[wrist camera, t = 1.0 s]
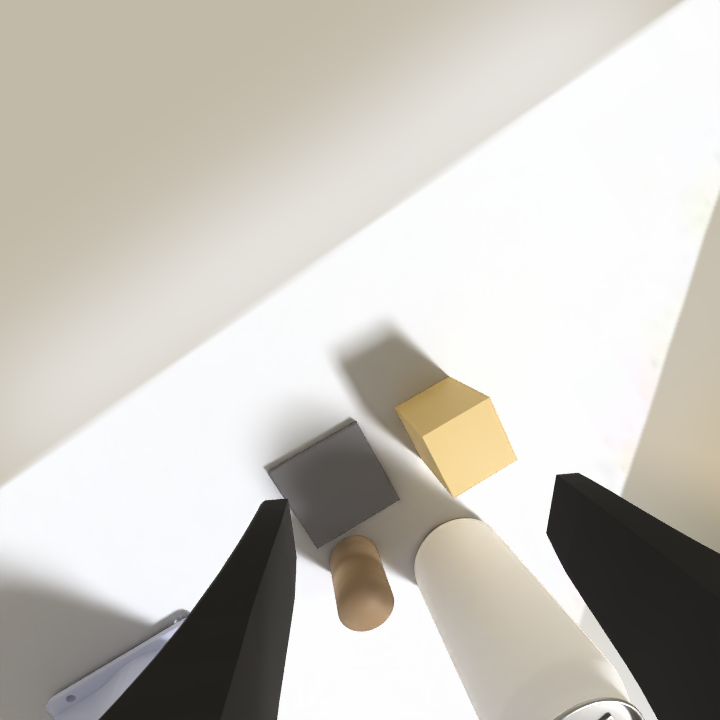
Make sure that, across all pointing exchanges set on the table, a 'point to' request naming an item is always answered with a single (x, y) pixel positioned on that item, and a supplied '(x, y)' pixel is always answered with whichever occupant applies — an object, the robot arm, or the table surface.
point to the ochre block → (456, 434)
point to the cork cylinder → (360, 584)
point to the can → (512, 633)
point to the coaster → (334, 484)
